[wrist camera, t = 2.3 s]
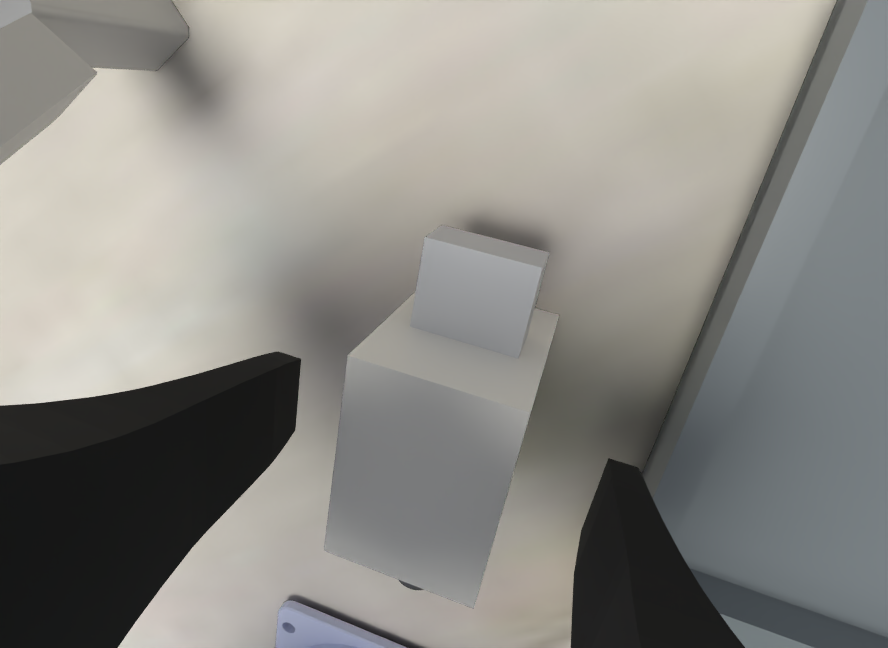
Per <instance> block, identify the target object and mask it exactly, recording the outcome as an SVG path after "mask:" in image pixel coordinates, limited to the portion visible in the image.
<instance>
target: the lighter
mask: <svg viewBox="0 0 888 648" xmlns="http://www.w3.org/2000/svg"><path fill="white" fill-rule="evenodd" d="M188 38H189V27H188V25H187V24H186V22H185V21H184V19H183V18H182V16H181V15H180V13H179V12H178V10H177V9H176V7H175V5H174V4H173V2H172V1H171V0H0V165H1V164H2V163H3V162H4V161H5V160H7V159H8V158H9V157H10V156H12V155H13V154H14V153H15V152H17V151H18V150H19V149H20V148H22V147H23V146H24V145H25V144H27V143H28V142H29V141H30V140H31V139H33V138H34V137H35V136H36V135H38V134H39V133H40V132H41V131H43V130H44V129H45V128H46V127H48V126H49V125H50V124H51V123H52V122H54V121H55V120H56V119H57V118H58V117H59V116H60V115H61V114H62V113H63V111H64V110H65V109H66V108H67V107H68V106H69V105H70V104H71V102H72V101H73V100H74V99H75V98H76V97H77V96H78V95H79V93H80V92H81V91H82V90H83V89H84V88H85V87H86V86H87V85H88V83H89V82H90V81H91V80H92V79H93V78H94V77H95V76H96V74H97V72H96V71H95V70H94V69H93V68H110V69H129V70H148V71H157V70H158V69H159V68H160V67H161V66H162V65H163V64H164V63H165V62H166V61H167V60H168V59H169V58H170V57H171V55H172V54H173V53H174V52H175V51H176V50H177V49H178V48H179V47H180V46H181V45H182V44H183V43H184V42H185V41H186V40H187V39H188Z"/></svg>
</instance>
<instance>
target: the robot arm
mask: <svg viewBox="0 0 888 648" xmlns="http://www.w3.org/2000/svg"><path fill="white" fill-rule="evenodd" d="M300 365H301V359H300V358H296V357H293V356H290V355H287V354H284V353H281V352H273V353H269V354H264V355H261V356H257V357H254V358H250V359H247V360H243V361H240V362H236V363H233V364H230V365H226V366H223V367H220V368H216V369H213V370H209V371H206V372H203V373H199V374H196V375H192V376H188V377H184V378H180V379H176V380H173V381H169V382H165V383H161V384H157V385H153V386H149V387H144V388H140V389H135V390H130V391H125V392H119V393H114V394H108V395H102V396H96V397H89V398H81V399H72V400H63V401H55V402H46V403H36V404H22V405H7V406H0V648H118V646H119V645H120V643H121V642H122V640H123V639H124V638H125V636H126V635H127V633H128V632H129V630H130V629H131V628H132V626H133V625H134V623H135V622H136V621H137V619H138V618H139V617H140V615H141V614H142V613H143V611H144V610H145V608H146V607H147V606H148V604H149V603H150V602H151V600H152V599H153V598H154V596H155V595H156V594H157V592H158V591H159V590H160V588H161V587H162V586H163V584H164V583H165V582H166V580H167V579H168V578H169V577H170V575H171V574H172V573H173V571H174V570H175V569H176V568H177V566H178V565H179V564H180V562H181V561H182V560H183V559H184V557H185V556H186V555H187V554H188V552H189V551H190V550H191V548H192V547H193V546H194V545H195V544H196V543H197V542H198V541H199V539H200V538H201V537H202V536H203V535H204V534H205V533H206V532H207V530H208V529H209V528H210V527H211V526H212V525H213V524H214V523H215V522H216V521H217V520H218V519H219V518H220V517H221V516H222V515H223V514H224V513H225V512H226V511H227V510H228V509H229V508H230V507H231V506H232V505H233V504H234V502H235V501H236V500H237V499H238V498H239V497H240V496H241V495H242V494H243V493H244V492H245V491H246V490H247V489H248V488H249V487H250V486H251V485H252V484H253V483H254V482H255V481H256V480H257V478H258V477H259V476H260V475H261V474H262V473H263V472H264V471H265V470H266V469H267V468H268V467H269V466H270V465H271V463H272V462H273V461H274V459H275V458H276V457H277V455H278V454H279V453H280V451H281V450H282V449H283V447H284V446H285V444H286V443H287V442H288V440H289V439H290V437H291V436H292V434H293V433H294V431H295V427H296V415H297V402H298V390H299V377H300ZM275 648H407V647H405V646H402V645H400V644H397V643H395V642H393V641H390V640H388V639H385V638H383V637H380V636H378V635H376V634H373V633H371V632H368V631H366V630H364V629H361V628H359V627H356V626H354V625H352V624H349V623H347V622H344V621H342V620H339V619H337V618H335V617H332V616H330V615H327V614H325V613H323V612H320V611H318V610H315V609H313V608H311V607H308V606H306V605H303V604H301V603H299V602H296V601H292V600H290V601H286V602H284V603H283V605H282V606H281V608H280V609H279V612H278V621H277V633H276V646H275ZM571 648H745V647H744V645H743V644H742V643H741V641H740V640H739V639H738V638H737V636H736V635H735V634H734V633H733V631H732V630H731V629H730V627H729V626H728V624H727V623H726V622H725V620H724V619H723V618H722V616H721V615H720V613H719V612H718V611H717V609H716V608H715V606H714V605H713V604H712V602H711V601H710V599H709V598H708V597H707V595H706V594H705V592H704V591H703V589H702V588H701V586H700V584H699V583H698V581H697V580H696V578H695V576H694V575H693V573H692V572H691V570H690V568H689V567H688V565H687V563H686V562H685V560H684V558H683V556H682V555H681V553H680V551H679V549H678V547H677V546H676V544H675V542H674V540H673V538H672V536H671V534H670V532H669V531H668V529H667V527H666V525H665V523H664V521H663V519H662V517H661V515H660V513H659V511H658V509H657V507H656V504H655V502H654V500H653V498H652V496H651V494H650V492H649V489H648V487H647V485H646V483H645V481H644V478H643V476H642V474H641V472H640V470H639V469H638V468H637V467H634V466H631V465H628V464H625V463H622V462H619V461H616V460H613V459H608V461H607V464H606V466H605V469H604V472H603V474H602V477H601V480H600V482H599V485H598V488H597V490H596V493H595V496H594V498H593V501H592V504H591V506H590V509H589V512H588V514H587V517H586V520H585V522H584V525H583V528H582V530H581V535H580V541H579V547H578V553H577V559H576V565H575V571H574V585H573V607H572V632H571Z"/></svg>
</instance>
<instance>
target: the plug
mask: <svg viewBox="0 0 888 648" xmlns="http://www.w3.org/2000/svg"><path fill="white" fill-rule="evenodd" d="M549 253H550V252H546V251H542V250H538V249H534V248H530V247H527V246H523V245H519V244H515V243H511V242H507V241H503V240H499V239H495V238H491V237H488V236H484V235H480V234H476V233H472V232H468V231H464V230H460V229H456V228H453V227H449V226H445V225H441V226H440V227H438V228H437V229H435V230H434V231H433V232H431V233H430V234H428V235H427V236H426V237H425V239H424V245H423V251H422V256H421V262H420V268H419V274H418V280H417V286H416V292H414V293H413V294H412V295H411V296H410V297H409V298H408V299H407V300H406V301H405V302H404V303H403V304H402V305H401V306H400V307H399V308H397V309H396V310H395V311H394V312H393V313H392V314H391V315H390V316H389V317H388V318H387V319H386V320H385V321H384V322H383V323H382V324H380V325H379V326H378V327H377V328H376V329H375V330H374V331H373V332H372V333H371V334H370V335H369V336H368V337H367V338H366V339H364V340H363V341H362V342H361V343H360V344H359V345H358V346H357V347H356V348H355V349H354V350H353V351H352V352H351V353H350V354H349V355H348V356H347V364H346V372H345V381H344V389H343V397H342V405H341V413H340V422H339V430H338V438H337V446H336V454H335V463H334V471H333V479H332V487H331V495H330V504H329V512H328V520H327V528H326V536H325V545H324V551H326V552H329V553H331V554H334V555H336V556H339V557H342V558H344V559H347V560H349V561H352V562H354V563H357V564H360V565H362V566H365V567H367V568H370V569H372V570H375V571H378V572H380V573H383V574H385V575H388V576H390V577H393V578H396V579H398V580H399V581H400V582H401V583H402V584H403V585H404V586H406V587H408V588H410V589H413V590H427V591H429V592H432V593H434V594H437V595H439V596H442V597H445V598H447V599H450V600H452V601H455V602H457V603H460V604H463V605H465V606H468V607H470V608H473V609H474V606H475V602H476V599H477V595H478V592H479V589H480V585H481V582H482V578H483V575H484V572H485V568H486V565H487V561H488V558H489V555H490V551H491V548H492V544H493V541H494V538H495V534H496V531H497V527H498V524H499V521H500V517H501V514H502V510H503V507H504V504H505V500H506V497H507V493H508V490H509V487H510V483H511V480H512V476H513V473H514V470H515V466H516V463H517V459H518V456H519V453H520V449H521V446H522V442H523V439H524V435H525V432H526V428H527V425H528V422H529V418H530V415H531V411H532V408H533V404H534V401H535V398H536V394H537V391H538V387H539V384H540V380H541V377H542V373H543V370H544V367H545V363H546V360H547V356H548V353H549V349H550V346H551V343H552V339H553V336H554V332H555V329H556V325H557V322H558V318H559V315H558V314H555V313H551V312H548V311H544V310H540V309H537V308H535V305H536V302H537V298H538V294H539V291H540V287H541V283H542V279H543V276H544V272H545V268H546V265H547V261H548V257H549Z"/></svg>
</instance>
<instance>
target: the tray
mask: <svg viewBox="0 0 888 648" xmlns="http://www.w3.org/2000/svg"><path fill="white" fill-rule="evenodd" d="M642 476H643V478H644V481H645V483H646V485H647V487H648V489H649V492H650V494H651V496H652V498H653V500H654V502H655V504H656V507H657V509H658V511H659V513H660V515H661V517H662V519H663V521H664V523H665V525H666V527H667V529H668V531H669V532H670V534H671V536H672V538H673V540H674V542H675V544H676V546H677V547H678V549H679V551H680V553H681V555H682V556H683V558H684V560H685V562H686V563H687V565H688V567H689V568H690V570H691V572H692V573H693V575H694V576H695V578H696V580H697V581H698V583H699V584H700V586H701V588H702V589H703V591H704V592H705V594H706V595H707V597H708V598H709V599H710V601H711V602H712V604H713V605H714V606H715V608H716V609H717V611H718V612H719V613H720V615H721V616H722V618H723V619H724V620H725V622H726V623H727V624H728V626H729V627H730V629H731V630H732V631H733V633H734V634H735V635H736V636H737V638H738V639H739V640H740V641H741V643H742V644H743V645H744V647H745V648H888V0H837V2H836V5H835V7H834V10H833V12H832V15H831V17H830V19H829V22H828V24H827V27H826V29H825V32H824V34H823V36H822V39H821V41H820V44H819V46H818V49H817V51H816V53H815V56H814V58H813V61H812V63H811V66H810V68H809V70H808V73H807V75H806V78H805V80H804V83H803V85H802V87H801V90H800V92H799V95H798V97H797V100H796V102H795V104H794V107H793V109H792V112H791V114H790V116H789V119H788V121H787V124H786V126H785V129H784V131H783V133H782V136H781V138H780V141H779V143H778V146H777V148H776V150H775V153H774V155H773V158H772V160H771V163H770V165H769V167H768V170H767V172H766V175H765V177H764V180H763V182H762V184H761V187H760V189H759V192H758V194H757V197H756V199H755V201H754V204H753V206H752V209H751V211H750V214H749V216H748V218H747V221H746V223H745V226H744V228H743V231H742V233H741V235H740V238H739V240H738V243H737V245H736V248H735V250H734V252H733V255H732V257H731V260H730V262H729V264H728V267H727V269H726V272H725V274H724V277H723V279H722V281H721V284H720V286H719V289H718V291H717V294H716V296H715V298H714V301H713V303H712V306H711V308H710V311H709V313H708V315H707V318H706V320H705V323H704V325H703V328H702V330H701V332H700V335H699V337H698V340H697V342H696V345H695V347H694V349H693V352H692V354H691V357H690V359H689V362H688V364H687V366H686V369H685V371H684V374H683V376H682V379H681V381H680V383H679V386H678V388H677V391H676V393H675V396H674V398H673V400H672V403H671V405H670V408H669V410H668V413H667V415H666V417H665V420H664V422H663V425H662V427H661V429H660V432H659V434H658V437H657V439H656V442H655V444H654V446H653V449H652V451H651V454H650V456H649V459H648V461H647V463H646V466H645V468H644V471H643V473H642Z"/></svg>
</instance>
